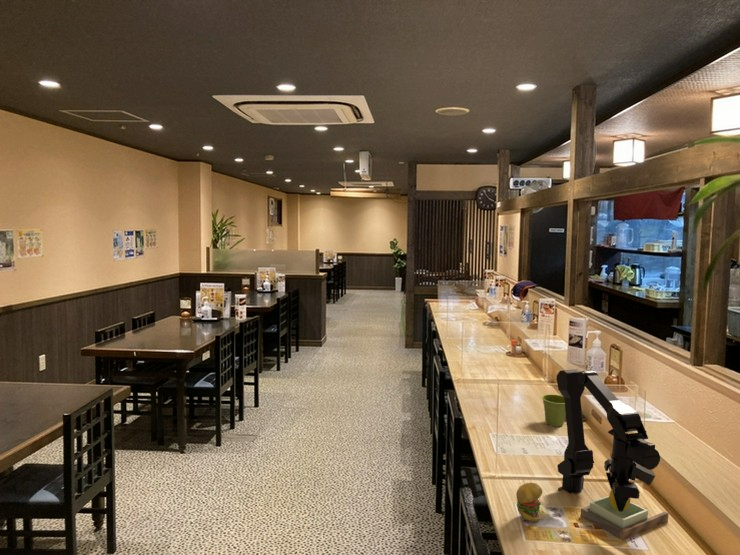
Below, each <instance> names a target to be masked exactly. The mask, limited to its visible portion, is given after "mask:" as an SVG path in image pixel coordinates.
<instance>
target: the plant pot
mask: <svg viewBox="0 0 740 555" xmlns="http://www.w3.org/2000/svg"><path fill="white" fill-rule="evenodd" d="M541 399H542V403H543V409H544V419H545V423H546V425H548V424H549V426H550V425H551V427H557V428H559V427H563V425H564V422H565V420H566V411H565V401H564V397H563V395H560V394H550V393H549V394H544V395H542V396H541Z"/></svg>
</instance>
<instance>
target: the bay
mask: <svg viewBox="0 0 740 555" xmlns="http://www.w3.org/2000/svg"><path fill="white" fill-rule="evenodd" d="M589 509H590V504H589V505H587V506H583V507H581V508H580V517H581V518H583V519H584V520H586V521H587V522H590V523H591V524H593V525H594V526H597V527H599V528H600V529H602V530H604V531H606V532H607V533H609V534H611V535H612V536H614V537H616V538H618V539H620V540H621V541H625V540H627V539H630V538H632V537H634V536H636V535H639V534H641V533H643V532H646V531H647V530H650V529H652V528H654V527H657V526H659V525H661V524H664V523H666V522H668V521H669V514H670V513H669V512H668V511H666V510H665V511H662V512H660V513H658V514H655V515H653V516H651V517H648V518H647V519H645V520H643V521H641V522H638V523H636V524H633V525H631V526H629V527H626V528H624V529H622V528H621V527H619V526H617V525H615V524H613V523H611V522H610V521H608V520H606V519H604V518H602V517H600V516H598V515H597V514H595V513H593V512H591V511H589Z"/></svg>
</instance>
